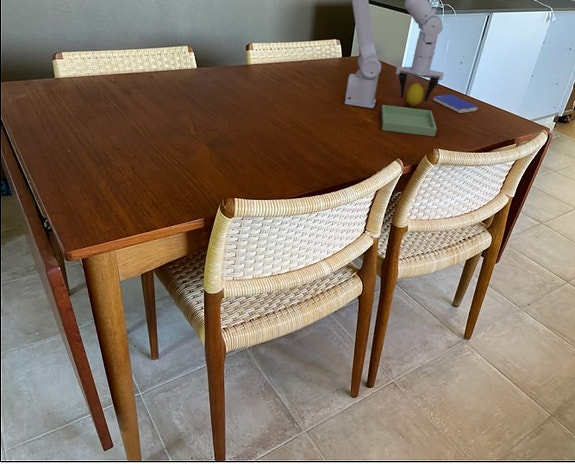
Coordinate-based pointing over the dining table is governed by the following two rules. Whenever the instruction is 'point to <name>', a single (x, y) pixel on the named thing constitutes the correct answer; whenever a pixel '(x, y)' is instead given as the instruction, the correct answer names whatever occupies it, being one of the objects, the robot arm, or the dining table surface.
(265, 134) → the dining table surface
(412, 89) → the lemon
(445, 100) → the hard drive
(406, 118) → the tray
